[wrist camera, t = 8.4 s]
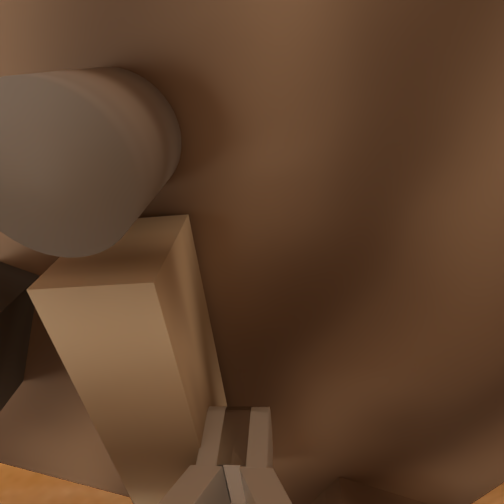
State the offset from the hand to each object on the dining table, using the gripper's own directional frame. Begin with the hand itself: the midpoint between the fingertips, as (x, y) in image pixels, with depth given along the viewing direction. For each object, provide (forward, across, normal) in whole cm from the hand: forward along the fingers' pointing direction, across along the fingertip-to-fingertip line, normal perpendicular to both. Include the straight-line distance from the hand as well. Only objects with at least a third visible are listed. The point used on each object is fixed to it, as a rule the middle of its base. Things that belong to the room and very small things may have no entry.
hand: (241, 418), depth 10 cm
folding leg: (+2, +2, -2) cm, 3 cm away
